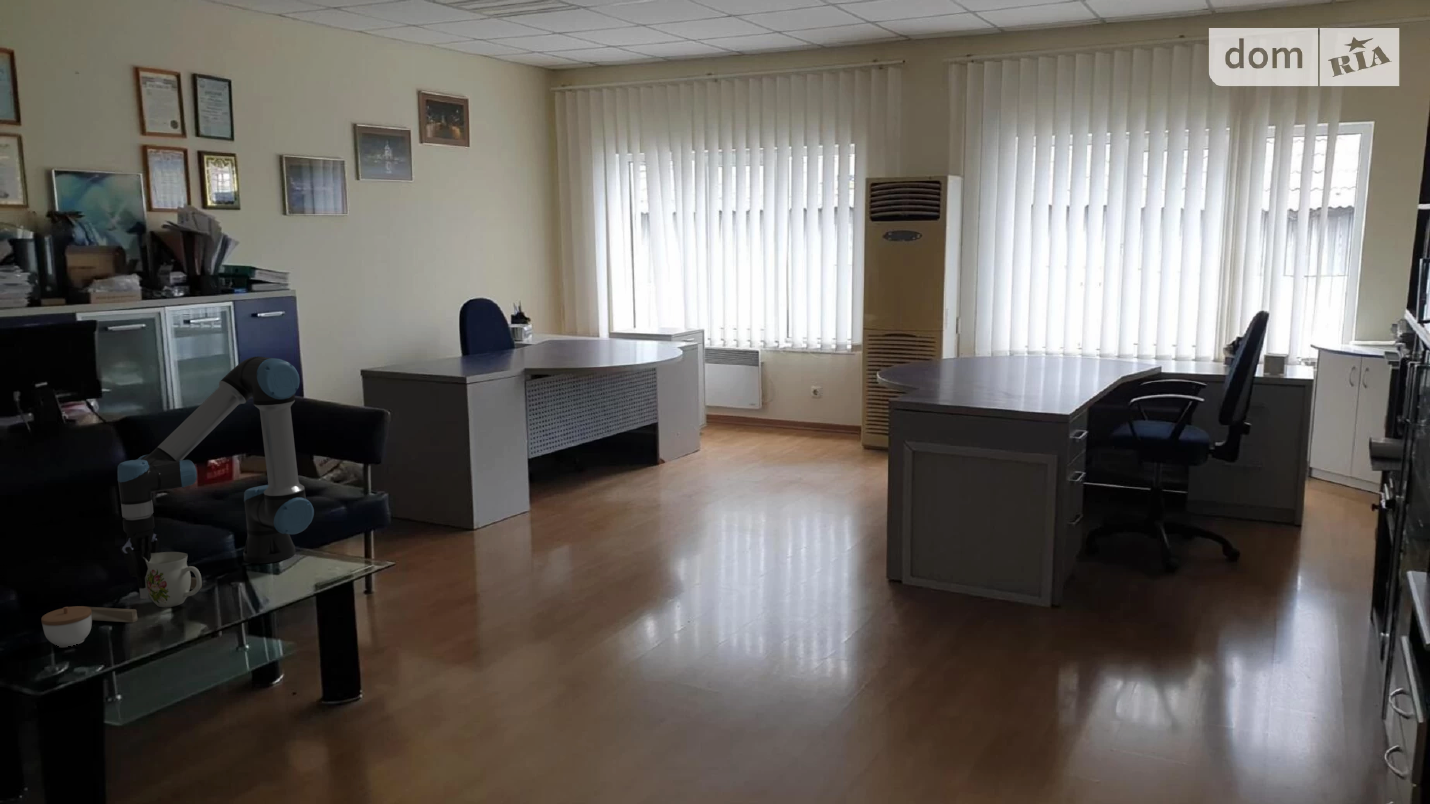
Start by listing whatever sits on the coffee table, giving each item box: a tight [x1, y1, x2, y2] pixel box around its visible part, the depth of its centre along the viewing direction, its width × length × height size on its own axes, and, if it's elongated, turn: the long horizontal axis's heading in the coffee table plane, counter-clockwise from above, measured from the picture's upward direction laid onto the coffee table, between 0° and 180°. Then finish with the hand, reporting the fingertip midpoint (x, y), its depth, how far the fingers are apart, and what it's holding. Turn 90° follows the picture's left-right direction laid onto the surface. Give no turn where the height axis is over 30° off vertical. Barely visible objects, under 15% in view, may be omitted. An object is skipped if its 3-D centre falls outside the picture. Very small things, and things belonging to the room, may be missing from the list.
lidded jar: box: [40, 605, 93, 648], centre depth 256 cm, size 11×11×9 cm
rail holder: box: [88, 576, 203, 623], centre depth 283 cm, size 27×15×3 cm, turn 169°
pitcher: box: [143, 551, 203, 608], centre depth 282 cm, size 11×18×14 cm, turn 80°
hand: (146, 597), depth 283 cm, fingers closed
